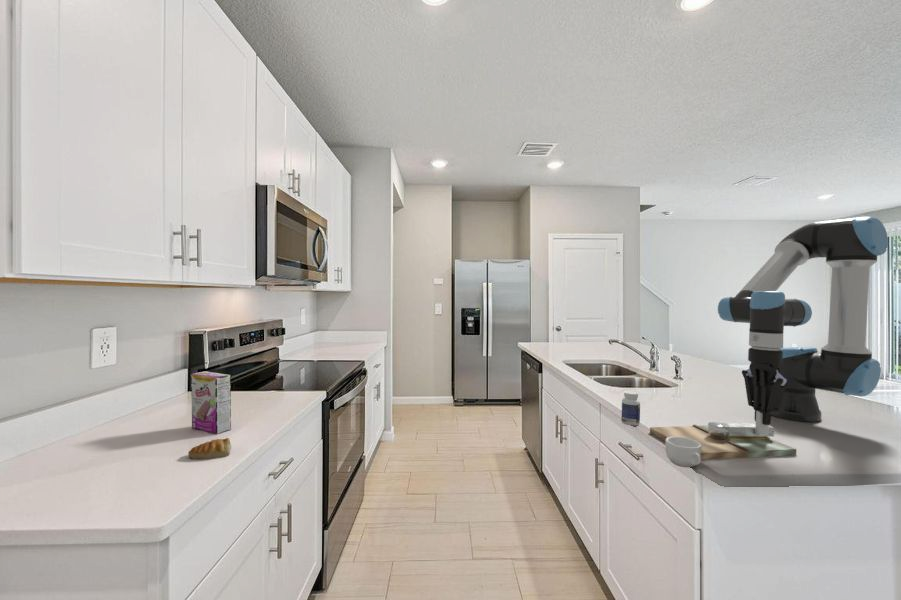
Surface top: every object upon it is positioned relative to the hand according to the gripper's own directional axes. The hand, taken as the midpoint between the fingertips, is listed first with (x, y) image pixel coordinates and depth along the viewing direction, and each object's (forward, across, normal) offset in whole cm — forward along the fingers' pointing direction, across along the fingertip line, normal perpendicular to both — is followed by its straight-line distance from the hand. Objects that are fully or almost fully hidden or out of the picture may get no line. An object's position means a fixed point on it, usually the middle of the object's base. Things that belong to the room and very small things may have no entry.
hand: (761, 435), depth 118 cm
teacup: (+4, +9, -29) cm, 30 cm away
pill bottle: (+4, -23, -24) cm, 34 cm away
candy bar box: (+6, -30, -152) cm, 155 cm away
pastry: (+6, -10, -143) cm, 144 cm away
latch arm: (+1, -3, -4) cm, 5 cm away
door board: (+3, -4, -10) cm, 11 cm away
